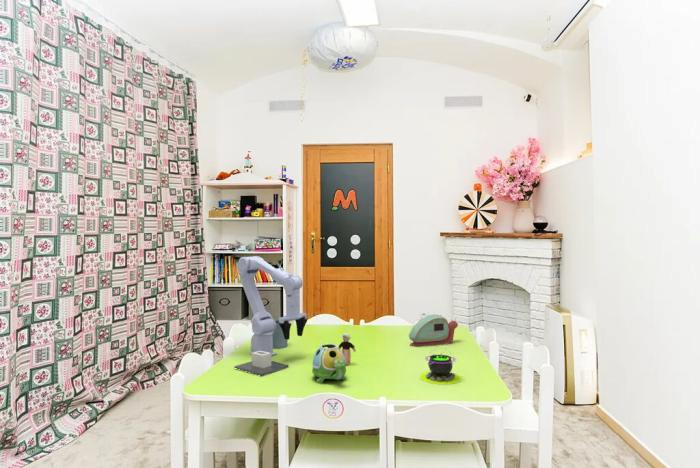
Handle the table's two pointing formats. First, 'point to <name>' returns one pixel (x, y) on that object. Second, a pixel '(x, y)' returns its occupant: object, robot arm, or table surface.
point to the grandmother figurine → (346, 348)
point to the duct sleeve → (261, 359)
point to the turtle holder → (329, 363)
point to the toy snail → (432, 331)
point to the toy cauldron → (440, 370)
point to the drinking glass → (279, 337)
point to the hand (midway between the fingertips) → (293, 337)
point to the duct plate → (262, 371)
